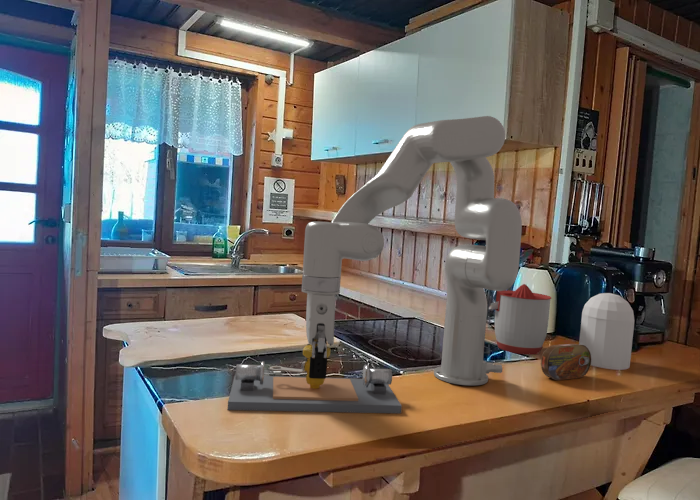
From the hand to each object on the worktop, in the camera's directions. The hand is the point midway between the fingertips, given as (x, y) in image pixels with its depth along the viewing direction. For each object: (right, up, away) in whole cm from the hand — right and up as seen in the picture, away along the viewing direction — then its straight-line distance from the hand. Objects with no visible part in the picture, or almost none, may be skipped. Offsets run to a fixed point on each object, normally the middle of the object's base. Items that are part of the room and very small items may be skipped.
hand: (315, 370), depth 107 cm
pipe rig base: (0, -5, 0) cm, 5 cm away
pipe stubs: (0, -4, 0) cm, 4 cm away
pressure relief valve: (-4, -3, 0) cm, 5 cm away
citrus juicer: (+56, -6, +53) cm, 78 cm away
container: (+78, -8, +45) cm, 91 cm away
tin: (+60, -8, +28) cm, 67 cm away
